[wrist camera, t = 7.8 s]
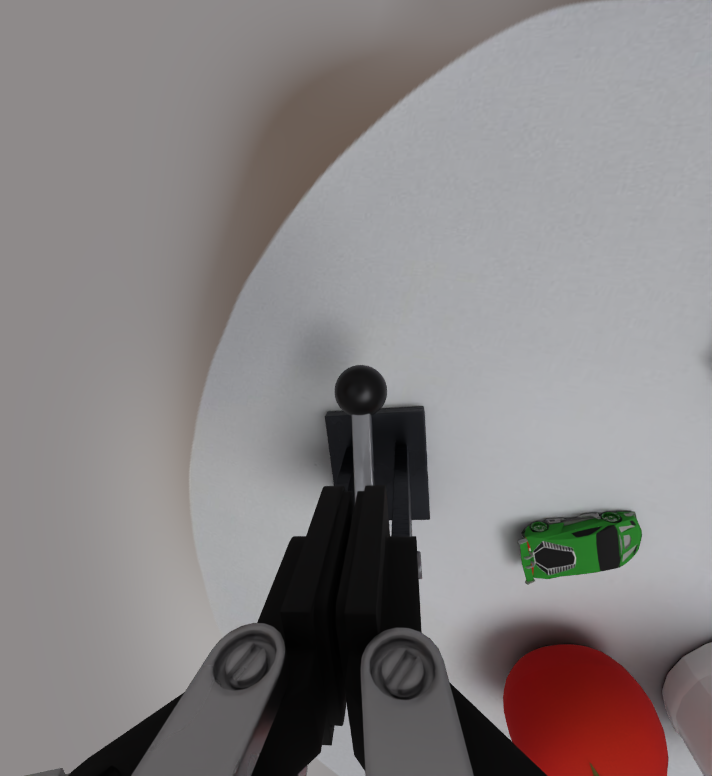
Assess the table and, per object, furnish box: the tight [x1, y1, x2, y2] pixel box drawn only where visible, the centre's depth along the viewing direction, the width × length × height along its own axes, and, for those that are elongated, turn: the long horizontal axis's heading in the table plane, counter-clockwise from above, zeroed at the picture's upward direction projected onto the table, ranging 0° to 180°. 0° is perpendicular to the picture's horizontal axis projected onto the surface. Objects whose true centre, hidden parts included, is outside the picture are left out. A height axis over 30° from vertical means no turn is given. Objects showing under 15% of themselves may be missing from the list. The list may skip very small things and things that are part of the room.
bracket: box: [325, 406, 430, 579], centre depth 27 cm, size 10×8×14 cm
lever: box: [335, 365, 387, 501], centre depth 23 cm, size 13×3×3 cm, turn 6°
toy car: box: [518, 512, 642, 585], centre depth 32 cm, size 10×5×2 cm, turn 105°
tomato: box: [503, 644, 668, 776], centre depth 33 cm, size 12×12×10 cm
